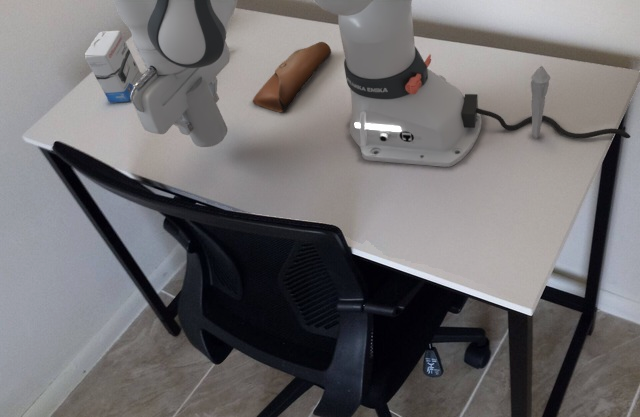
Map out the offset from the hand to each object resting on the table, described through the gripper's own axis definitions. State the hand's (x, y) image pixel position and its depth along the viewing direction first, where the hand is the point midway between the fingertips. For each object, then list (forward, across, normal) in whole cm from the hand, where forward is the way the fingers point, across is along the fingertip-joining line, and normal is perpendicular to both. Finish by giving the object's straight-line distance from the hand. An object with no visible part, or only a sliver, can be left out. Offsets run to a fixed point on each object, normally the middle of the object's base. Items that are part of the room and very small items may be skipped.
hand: (201, 116), depth 109 cm
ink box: (+9, +10, +32) cm, 35 cm away
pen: (+11, +21, -50) cm, 55 cm away
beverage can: (+5, 0, 0) cm, 5 cm away
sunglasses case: (+10, +22, -2) cm, 25 cm away
